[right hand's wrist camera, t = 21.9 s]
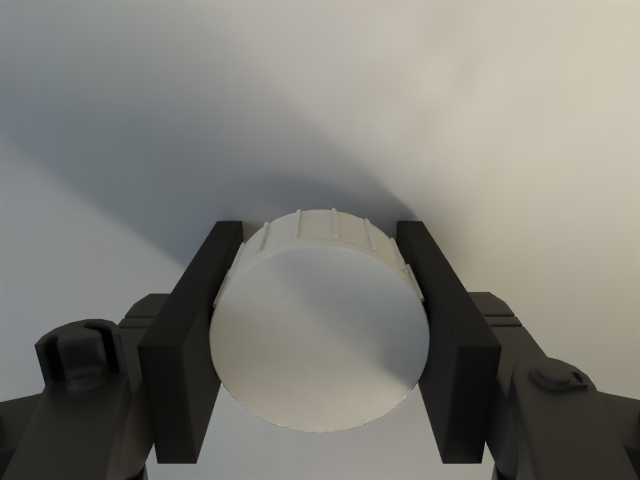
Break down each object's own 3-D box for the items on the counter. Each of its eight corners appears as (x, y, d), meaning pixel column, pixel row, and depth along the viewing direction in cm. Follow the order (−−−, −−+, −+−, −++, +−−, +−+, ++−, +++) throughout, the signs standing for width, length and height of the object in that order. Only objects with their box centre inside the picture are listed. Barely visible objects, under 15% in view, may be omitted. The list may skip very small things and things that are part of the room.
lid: (253, 180, 11) (235, 211, 9) (442, 240, 12) (472, 284, 9) (208, 343, 13) (183, 404, 10) (374, 388, 13) (385, 455, 11)
